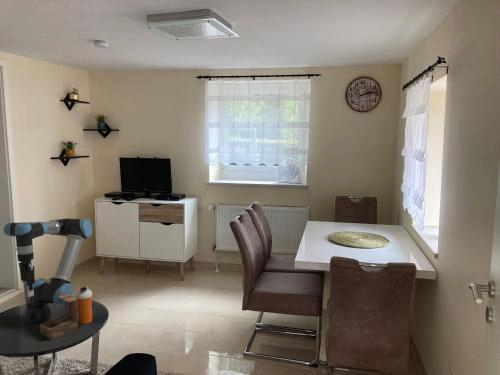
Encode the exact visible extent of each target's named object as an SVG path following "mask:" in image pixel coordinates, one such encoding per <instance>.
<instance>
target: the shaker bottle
mask: <svg viewBox="0 0 500 375" xmlns="http://www.w3.org/2000/svg"><path fill="white" fill-rule="evenodd" d="M75 298H77V307H78V320H79V324H81V325H87V324H89V322H90V323H91V322H92V321H93V291H92V290H91V289H89V287H88V286H84V287H80V288H79V290H78V291H77V292H76V293H75Z"/></svg>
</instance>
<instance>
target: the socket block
mask: <svg viewBox="0 0 500 375" xmlns="http://www.w3.org/2000/svg"><path fill="white" fill-rule="evenodd" d="M57 298H59V299H61V300H63V301H65V303H64V311H65V312H64V313H65V314H64V315H62V316H60V317H57V318H54V319H52V320H47V321H46V322H44V323H43V322H42V323H40V324H39V330H40V334H41V335H43V336H45V337H46V338H48V339H49V340H50V341H51V340H55V339H56V338H58V337H59V338H60V337H62V336H63V335H66V334H68V333H71V332H74V331H77V330H78V329H80V323H79V315H78V307H77V298H76V296H75V297H74V296H71V295H68V294H66V293H65V294H62V295H59V296H57Z"/></svg>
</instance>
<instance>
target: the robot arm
mask: <svg viewBox="0 0 500 375" xmlns="http://www.w3.org/2000/svg"><path fill="white" fill-rule="evenodd" d="M3 233H4V235H6V236H8V237H15V245H16V248H15V250H16V253H17V254H16V256H17V262H18V268H19V273H20V274H19V275H20V280H21V281H22V283H23V286H24V280H27V283H28V284H26V285H27V291H28V297H30V296H33V300H34V301H33V302H32V303H26V302H25V312H24V316H23V321H24V323H26V324H38V323H40V324H41V323H43V322H45V321H46V322H47V321H49V320H50V319H51V318H52V317H53V311H52V308H51V307H50V305H49V304H54V305H65V301H63V300H61V299H59V298H57V296H59V295H62V294H65V293H66V294H68V295H71V296H72V295H73V291H74V290H73V285H72V282H71V276H72V274H73V270H74V268H75V265H76V261H77V259H78V256H79V252H80V250H81V246H82V244H84V243H85V242H86V239H87V238H90V237H91V236H92V234H93V224H92V222H91V221H90V220H89V219H88V218H87V219H86V218H68V217H67V218H59V219H52V220H51V219H50V220H49V221H32V222H31V221H27V222H13V221H12V222H7V223H6V224H5V225H4V227H3ZM44 235H50V236H61V237H65V238H66V239H67V241H66V243H65V246H64V249H63V251H62V254H61V258H60V260H59V263H58V266H57V268H56V272H55V275H54V276H53V277H51V278H50V281H49V282H47V279H46V278H37V279H35V278H36V276H35V266H34V265H33V264H32V260H34V258H35V257H34V243H33V240H34V239H36V238H40V237H42V236H44ZM23 294H24V296H25V291H24V290H23Z"/></svg>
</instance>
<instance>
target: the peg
mask: <svg viewBox="0 0 500 375" xmlns="http://www.w3.org/2000/svg"><path fill="white" fill-rule="evenodd" d="M26 284H28V283H27V280H24V285H23V292H24V291H25V295H24V297H25V298H24V299H25V304H26V303H32V302H33V301H34V300H33V296H30V297H28V291H27V285H26Z"/></svg>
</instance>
